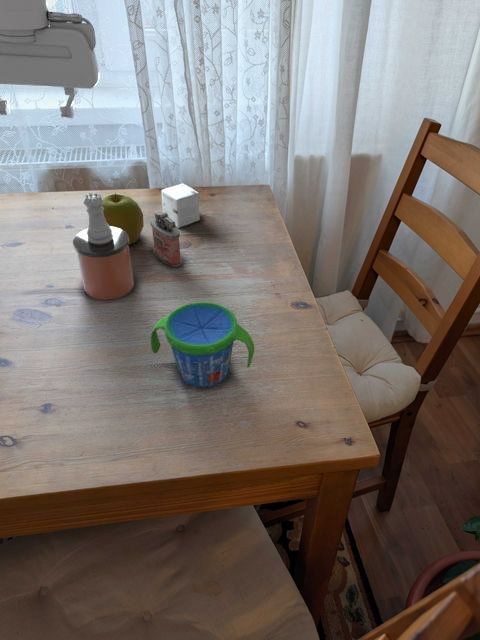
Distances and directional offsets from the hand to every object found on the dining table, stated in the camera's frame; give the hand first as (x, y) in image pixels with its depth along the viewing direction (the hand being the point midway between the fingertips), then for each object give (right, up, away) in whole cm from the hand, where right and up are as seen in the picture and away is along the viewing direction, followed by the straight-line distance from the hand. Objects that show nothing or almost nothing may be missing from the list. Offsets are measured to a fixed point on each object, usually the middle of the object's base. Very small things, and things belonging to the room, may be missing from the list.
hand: (36, 115), depth 80 cm
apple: (+5, -13, +31) cm, 34 cm away
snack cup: (+25, -40, +2) cm, 47 cm away
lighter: (+15, -18, +26) cm, 35 cm away
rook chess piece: (+6, -17, +11) cm, 21 cm away
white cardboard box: (+16, -7, +38) cm, 42 cm away
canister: (+6, -24, +18) cm, 31 cm away
